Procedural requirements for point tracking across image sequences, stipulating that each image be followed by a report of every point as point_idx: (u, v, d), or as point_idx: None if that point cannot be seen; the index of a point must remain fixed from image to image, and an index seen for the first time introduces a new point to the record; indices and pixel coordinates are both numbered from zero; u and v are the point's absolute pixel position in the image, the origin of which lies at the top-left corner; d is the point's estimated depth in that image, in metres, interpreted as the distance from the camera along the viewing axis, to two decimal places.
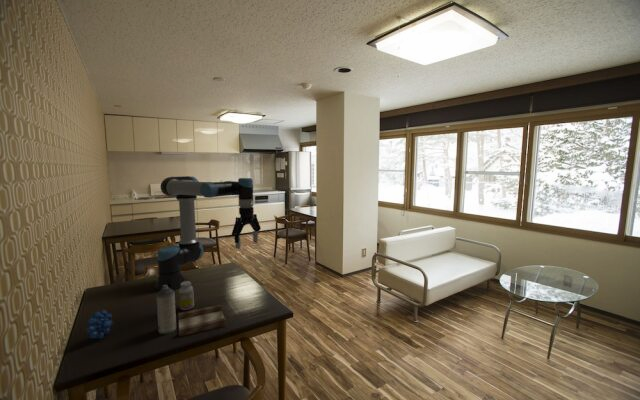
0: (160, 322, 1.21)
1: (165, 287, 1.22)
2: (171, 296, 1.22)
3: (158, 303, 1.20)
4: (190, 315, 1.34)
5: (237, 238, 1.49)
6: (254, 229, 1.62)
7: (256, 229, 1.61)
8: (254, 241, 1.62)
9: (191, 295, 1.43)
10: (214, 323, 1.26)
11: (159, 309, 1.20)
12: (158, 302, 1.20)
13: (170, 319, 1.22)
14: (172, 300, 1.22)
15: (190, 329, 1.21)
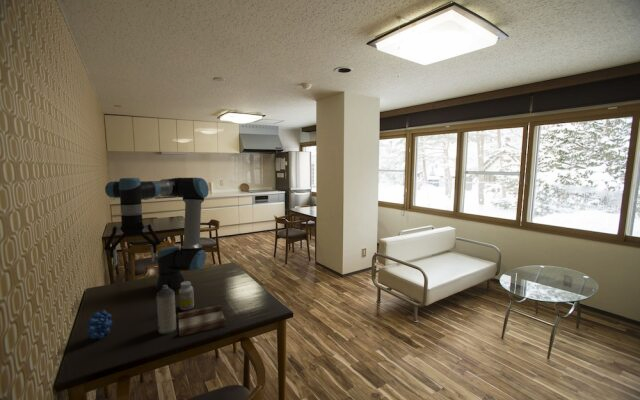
0: (160, 322, 1.21)
1: (165, 287, 1.22)
2: (171, 296, 1.22)
3: (158, 303, 1.20)
4: (190, 315, 1.34)
5: (111, 252, 1.20)
6: None
7: (150, 243, 1.26)
8: None
9: (191, 295, 1.43)
10: (214, 323, 1.26)
11: (159, 309, 1.20)
12: (158, 302, 1.20)
13: (170, 319, 1.22)
14: (172, 299, 1.22)
15: (190, 329, 1.21)
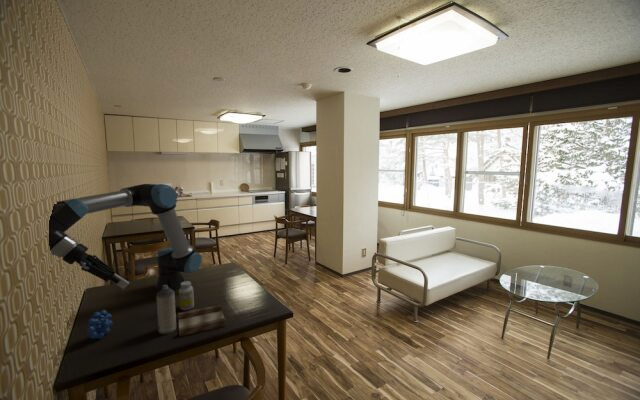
0: (160, 322, 1.21)
1: (165, 287, 1.22)
2: (171, 296, 1.22)
3: (158, 303, 1.20)
4: (190, 315, 1.34)
5: None
6: None
7: None
8: None
9: (191, 295, 1.43)
10: (214, 323, 1.26)
11: (159, 309, 1.20)
12: (158, 302, 1.20)
13: (170, 319, 1.22)
14: (172, 300, 1.22)
15: (190, 329, 1.21)
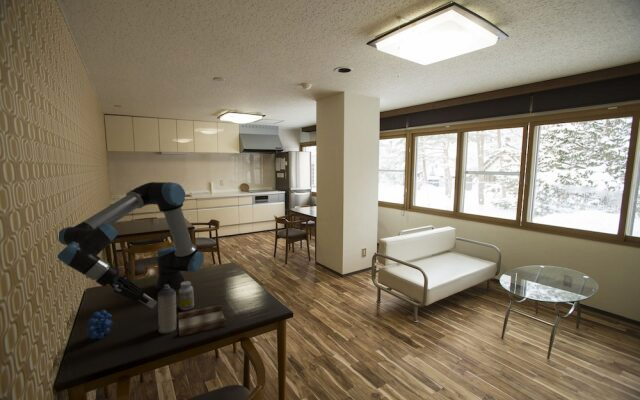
0: (160, 322, 1.21)
1: (167, 287, 1.22)
2: (172, 296, 1.22)
3: (159, 302, 1.20)
4: (190, 315, 1.34)
5: None
6: None
7: None
8: None
9: (191, 295, 1.43)
10: (214, 323, 1.26)
11: (160, 308, 1.20)
12: (159, 301, 1.20)
13: (171, 318, 1.22)
14: (173, 299, 1.22)
15: (190, 329, 1.21)
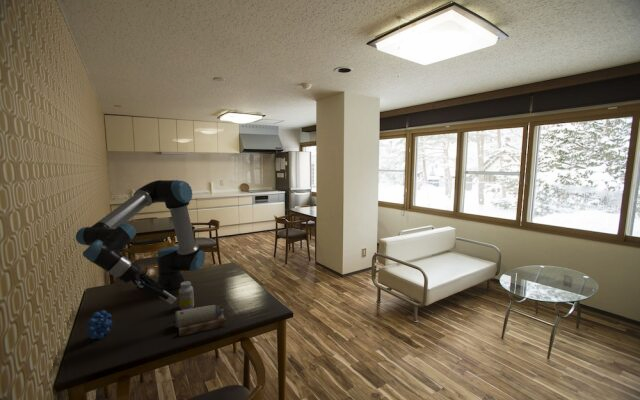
0: (188, 314, 1.25)
1: (222, 312, 1.32)
2: (214, 319, 1.30)
3: (208, 309, 1.29)
4: None
5: None
6: None
7: None
8: None
9: (191, 295, 1.43)
10: (214, 323, 1.26)
11: (202, 311, 1.28)
12: (209, 309, 1.29)
13: (191, 323, 1.25)
14: (210, 320, 1.29)
15: (190, 329, 1.21)
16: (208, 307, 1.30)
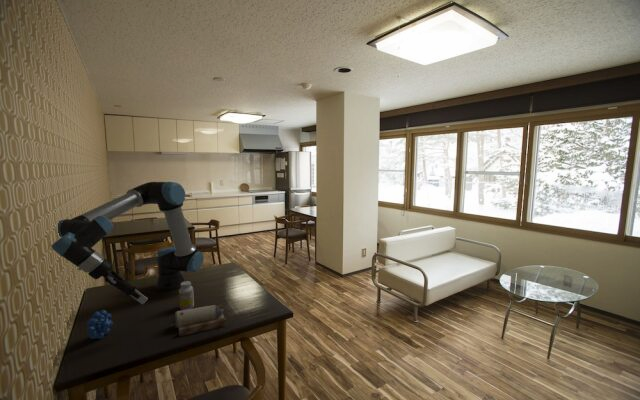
0: (188, 315, 1.25)
1: (222, 312, 1.32)
2: None
3: (208, 310, 1.28)
4: None
5: None
6: (131, 289, 1.17)
7: None
8: None
9: (191, 295, 1.43)
10: (214, 323, 1.26)
11: (202, 312, 1.27)
12: (209, 310, 1.29)
13: (191, 323, 1.25)
14: None
15: (190, 329, 1.21)
16: (208, 308, 1.29)
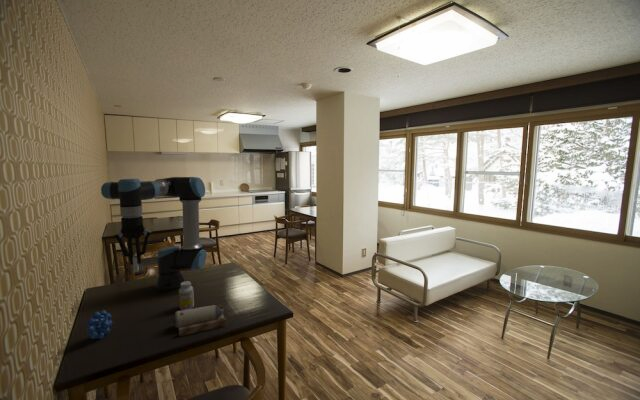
0: (188, 315, 1.25)
1: (222, 312, 1.32)
2: None
3: (208, 310, 1.28)
4: None
5: (131, 259, 1.20)
6: None
7: (136, 252, 1.20)
8: None
9: (191, 295, 1.43)
10: (214, 323, 1.26)
11: (202, 312, 1.27)
12: (209, 310, 1.28)
13: (191, 324, 1.25)
14: None
15: (190, 329, 1.21)
16: (208, 308, 1.29)
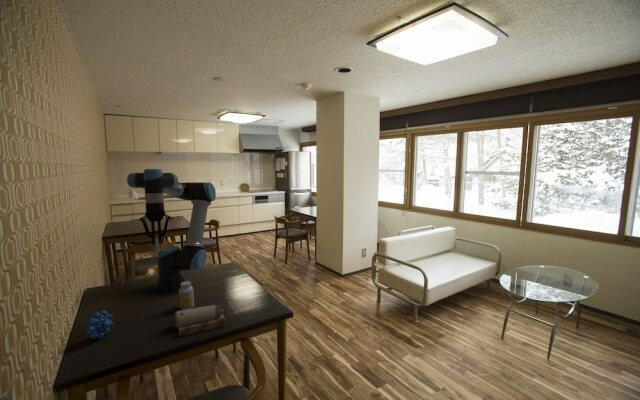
0: (188, 315, 1.25)
1: (222, 312, 1.32)
2: None
3: (208, 310, 1.28)
4: None
5: (153, 240, 1.35)
6: None
7: (158, 234, 1.35)
8: None
9: (191, 295, 1.43)
10: (214, 323, 1.26)
11: (202, 312, 1.27)
12: (209, 310, 1.29)
13: (191, 324, 1.25)
14: None
15: (190, 329, 1.21)
16: (208, 308, 1.29)
